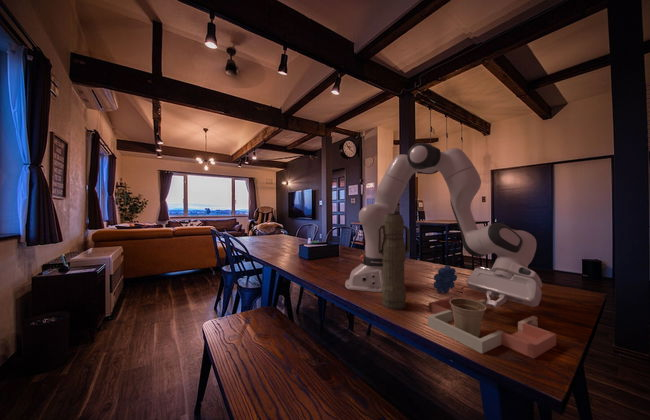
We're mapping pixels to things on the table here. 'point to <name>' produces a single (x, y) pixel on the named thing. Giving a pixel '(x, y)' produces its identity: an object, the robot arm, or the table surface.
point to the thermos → (393, 260)
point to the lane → (530, 320)
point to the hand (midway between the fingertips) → (491, 306)
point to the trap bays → (526, 343)
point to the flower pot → (468, 315)
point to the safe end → (464, 333)
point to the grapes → (445, 279)
